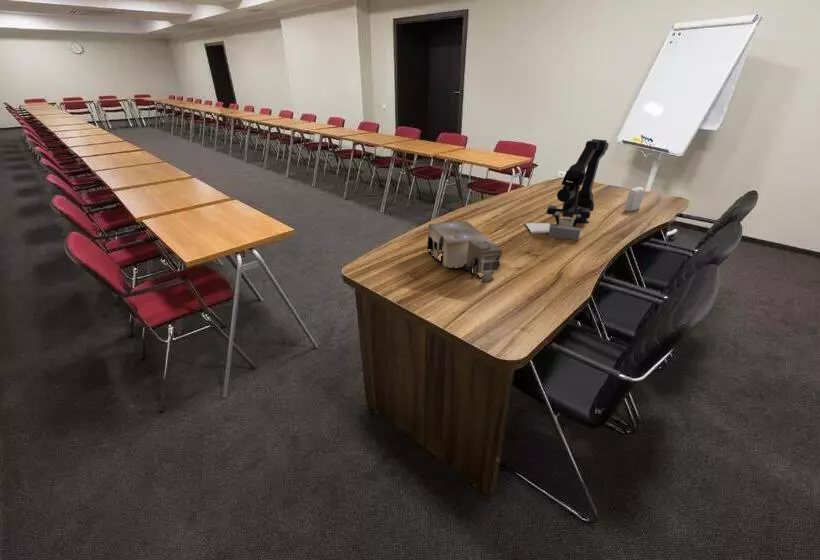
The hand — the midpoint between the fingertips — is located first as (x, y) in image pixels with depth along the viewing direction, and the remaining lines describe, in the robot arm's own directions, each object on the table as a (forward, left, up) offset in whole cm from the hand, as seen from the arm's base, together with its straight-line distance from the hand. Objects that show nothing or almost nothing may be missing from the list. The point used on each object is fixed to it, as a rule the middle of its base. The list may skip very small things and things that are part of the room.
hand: (565, 229), depth 182 cm
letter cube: (0, 0, -1) cm, 1 cm away
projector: (+36, -51, -2) cm, 62 cm away
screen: (+8, -3, -1) cm, 9 cm away
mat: (-4, -10, -1) cm, 11 cm away
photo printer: (-36, +48, -2) cm, 60 cm away
